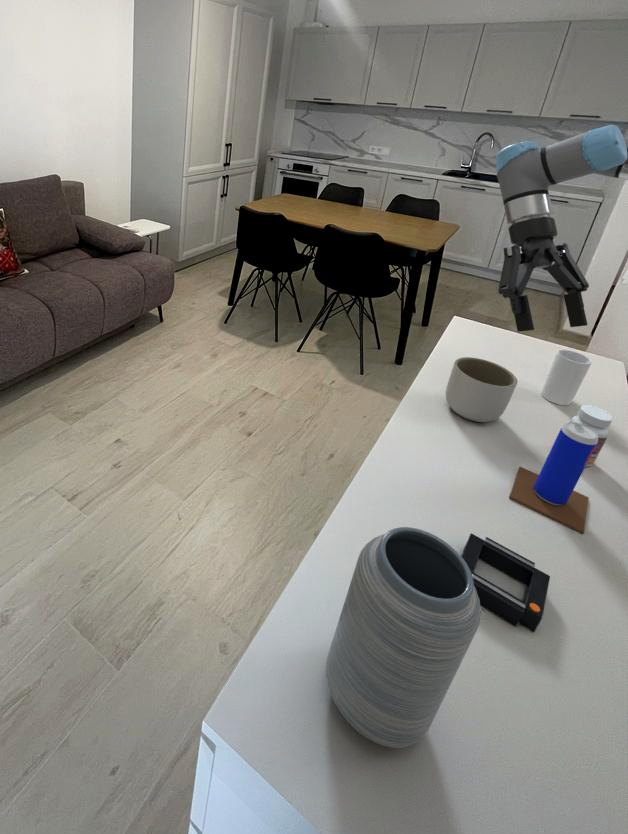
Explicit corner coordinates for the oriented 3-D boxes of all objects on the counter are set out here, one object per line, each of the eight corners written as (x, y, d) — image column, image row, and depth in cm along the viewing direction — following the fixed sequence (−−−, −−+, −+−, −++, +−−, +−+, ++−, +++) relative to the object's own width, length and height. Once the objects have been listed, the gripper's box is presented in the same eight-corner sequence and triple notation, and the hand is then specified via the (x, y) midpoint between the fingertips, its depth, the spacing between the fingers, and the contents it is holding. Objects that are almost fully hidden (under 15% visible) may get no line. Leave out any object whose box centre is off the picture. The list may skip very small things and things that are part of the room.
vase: (448, 736, 55) (520, 598, 46) (365, 779, 51) (426, 637, 42) (377, 635, 65) (424, 504, 56) (302, 664, 61) (341, 529, 52)
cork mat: (587, 499, 92) (588, 497, 91) (582, 534, 84) (584, 532, 84) (519, 468, 98) (520, 466, 98) (508, 498, 90) (509, 496, 90)
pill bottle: (589, 454, 104) (612, 409, 99) (595, 472, 99) (620, 426, 94) (554, 443, 106) (575, 399, 102) (559, 460, 101) (581, 414, 97)
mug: (573, 410, 119) (593, 367, 114) (540, 399, 122) (558, 357, 117) (569, 391, 127) (587, 350, 122) (538, 381, 130) (555, 341, 125)
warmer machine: (543, 585, 74) (551, 570, 73) (532, 637, 67) (541, 621, 65) (466, 542, 80) (473, 527, 79) (448, 585, 73) (455, 570, 72)
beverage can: (570, 511, 88) (605, 443, 82) (536, 501, 89) (569, 434, 83) (560, 490, 92) (593, 425, 86) (529, 482, 94) (559, 417, 88)
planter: (451, 423, 110) (466, 382, 106) (433, 392, 121) (446, 353, 117) (510, 432, 109) (528, 390, 104) (487, 400, 120) (502, 361, 116)
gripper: (558, 227, 105) (580, 326, 101) (464, 227, 98) (484, 334, 94) (596, 215, 97) (621, 322, 94) (498, 215, 90) (521, 330, 87)
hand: (553, 328), depth 94 cm, fingers open, 13 cm apart
